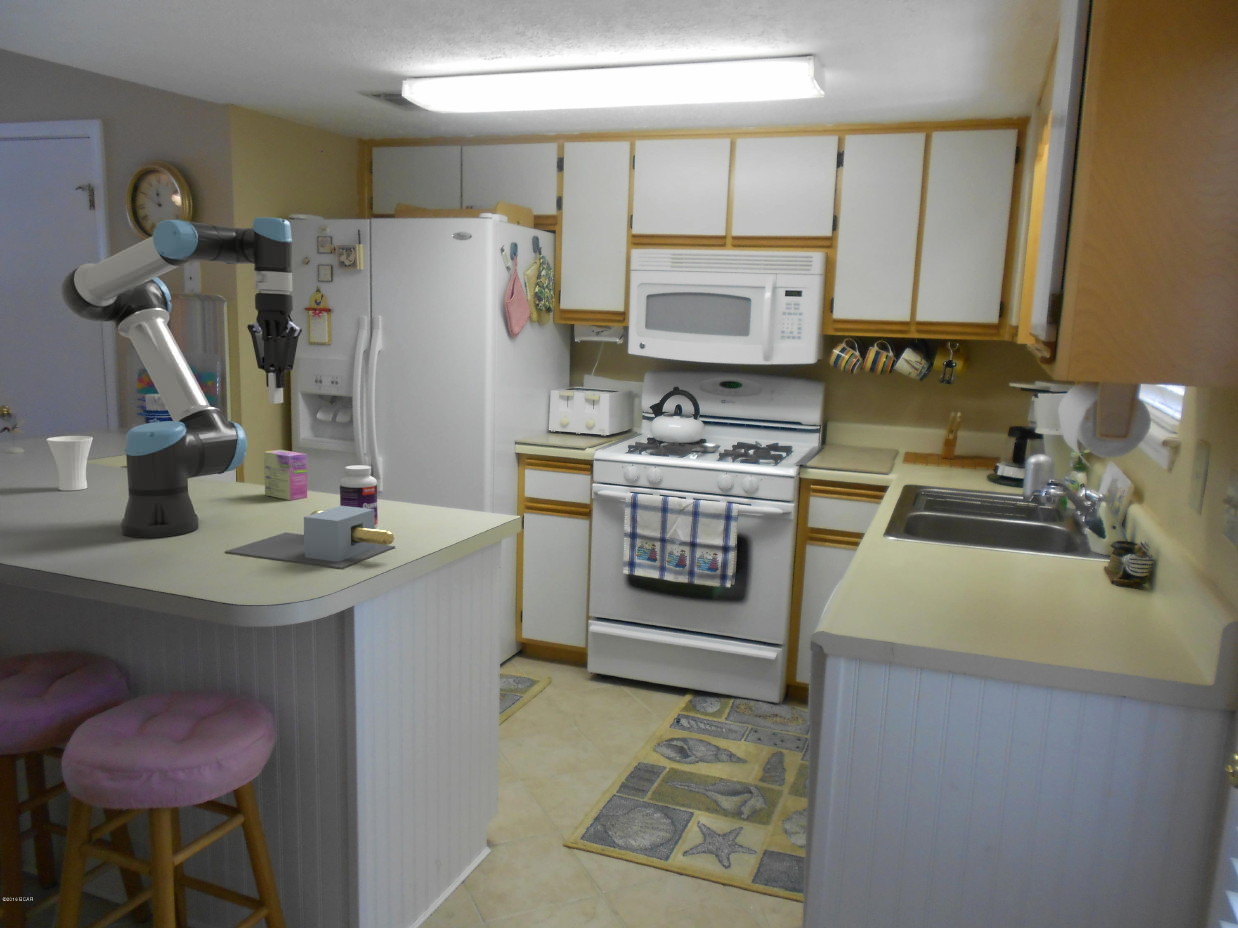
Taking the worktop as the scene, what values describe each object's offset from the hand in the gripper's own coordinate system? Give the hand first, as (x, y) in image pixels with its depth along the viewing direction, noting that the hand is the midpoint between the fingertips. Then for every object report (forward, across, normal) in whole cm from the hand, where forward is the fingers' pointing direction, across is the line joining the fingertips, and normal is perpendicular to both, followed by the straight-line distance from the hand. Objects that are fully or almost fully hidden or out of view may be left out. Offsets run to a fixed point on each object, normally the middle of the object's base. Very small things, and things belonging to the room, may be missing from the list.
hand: (276, 402), depth 195 cm
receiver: (+28, +24, -10) cm, 39 cm away
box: (+29, -25, +31) cm, 49 cm away
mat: (+28, +18, -10) cm, 35 cm away
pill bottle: (+29, +15, +9) cm, 33 cm away
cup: (+30, -79, +12) cm, 85 cm away
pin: (+28, +28, -10) cm, 40 cm away
